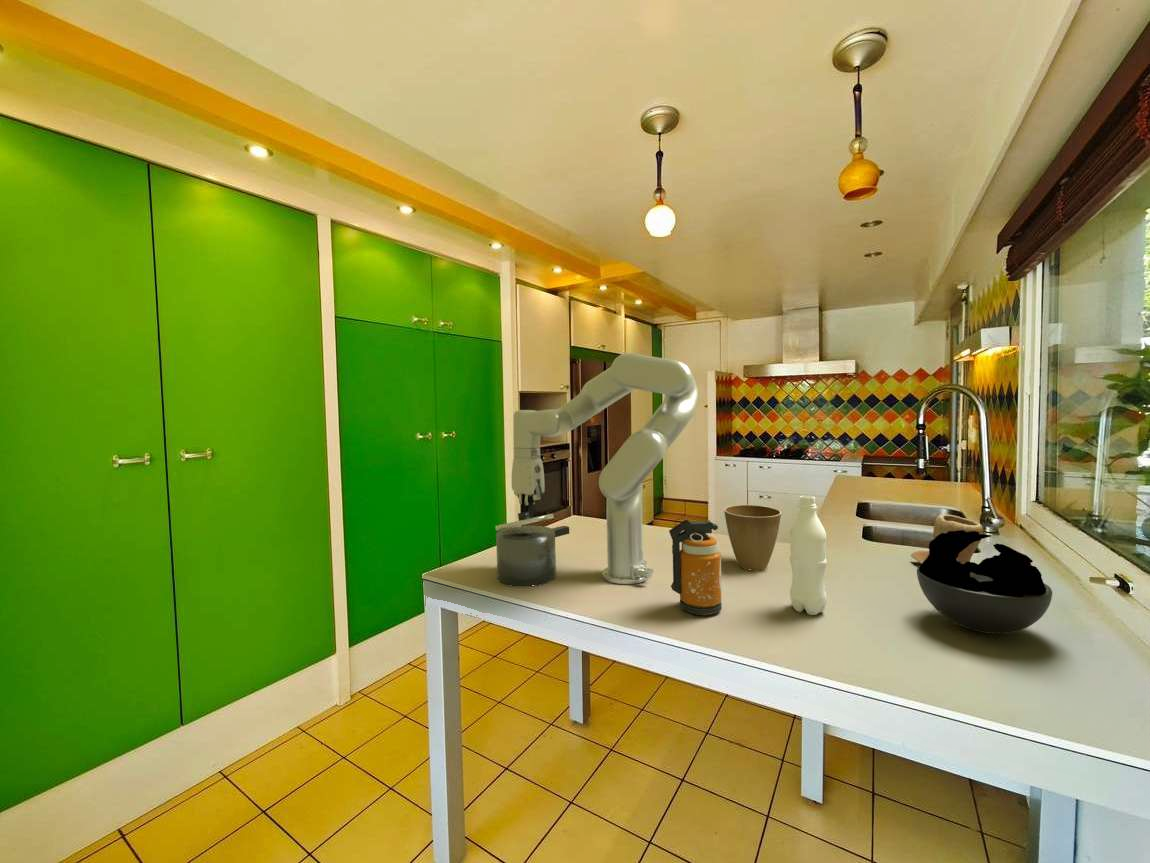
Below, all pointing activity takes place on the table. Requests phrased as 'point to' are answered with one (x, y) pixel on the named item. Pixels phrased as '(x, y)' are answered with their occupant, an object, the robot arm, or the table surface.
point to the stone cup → (953, 524)
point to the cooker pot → (527, 554)
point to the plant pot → (752, 533)
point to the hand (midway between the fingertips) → (527, 517)
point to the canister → (696, 567)
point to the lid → (524, 520)
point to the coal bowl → (983, 585)
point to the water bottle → (808, 559)
